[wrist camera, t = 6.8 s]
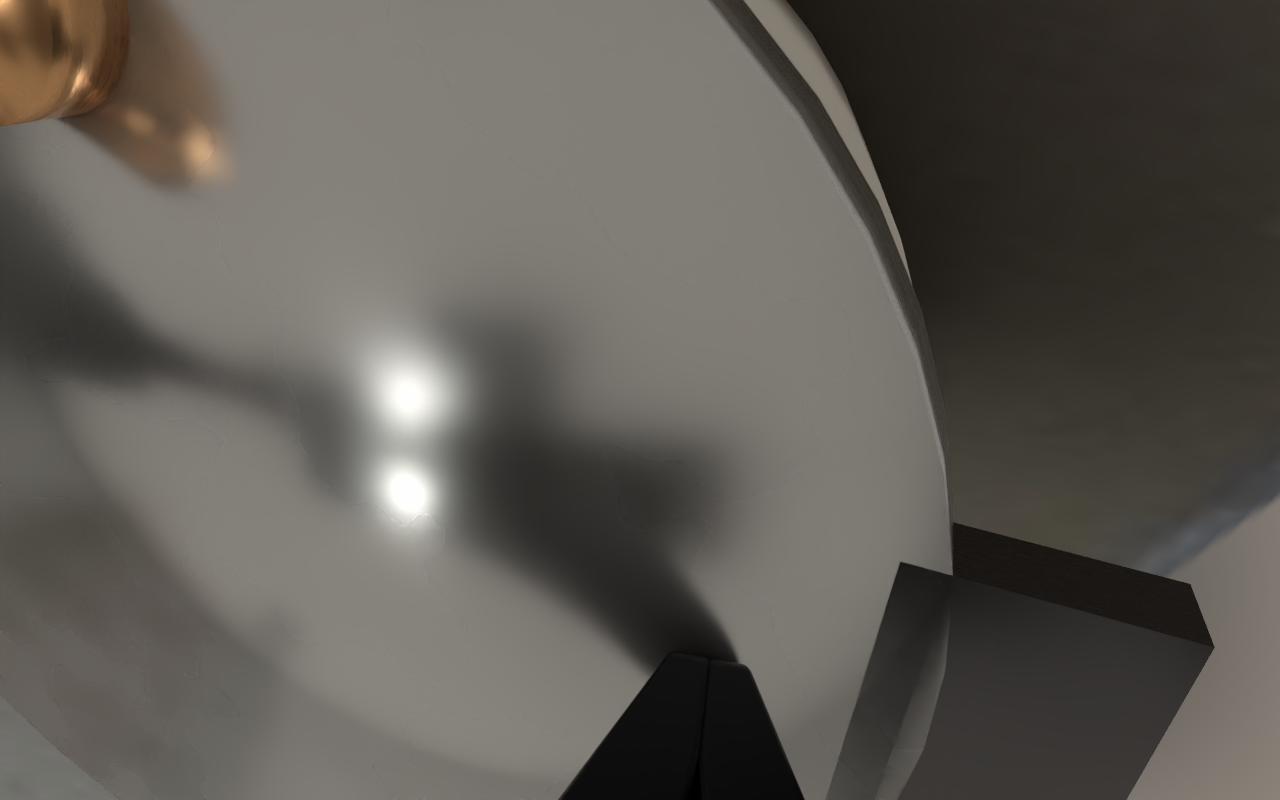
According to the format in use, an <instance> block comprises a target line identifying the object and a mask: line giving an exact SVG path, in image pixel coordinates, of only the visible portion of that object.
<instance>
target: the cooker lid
mask: <svg viewBox="0 0 1280 800" xmlns="http://www.w3.org/2000/svg"><path fill="white" fill-rule="evenodd" d="M1213 649H1214V645H1213V642H1212V639H1211V637H1210V634H1209V632H1208V629H1207V627H1206V624H1205V621H1204V619H1203V616H1202V613H1201V611H1200V608H1199V606H1198V603H1197V601H1196V598H1195V596H1194V593H1193V590H1192V588H1191V585H1190V584H1188V583H1184V582H1180V581H1176V580H1172V579H1169V578H1165V577H1161V576H1157V575H1153V574H1149V573H1146V572H1142V571H1138V570H1134V569H1130V568H1126V567H1122V566H1119V565H1115V564H1111V563H1107V562H1103V561H1099V560H1096V559H1092V558H1088V557H1084V556H1080V555H1076V554H1072V553H1069V552H1065V551H1061V550H1057V549H1053V548H1049V547H1045V546H1042V545H1038V544H1034V543H1030V542H1026V541H1022V540H1019V539H1015V538H1011V537H1007V536H1003V535H999V534H995V533H992V532H988V531H984V530H980V529H976V528H972V527H968V526H965V525H961V524H957V523H953V492H952V480H951V468H950V456H949V444H948V432H947V420H946V408H945V404H944V400H943V396H942V392H941V388H940V384H939V379H938V375H937V371H936V367H935V363H934V359H933V354H932V350H931V346H930V342H929V338H928V334H927V330H926V325H925V321H924V317H923V313H922V309H921V306H920V304H919V301H918V299H917V296H916V294H915V291H914V289H913V286H912V284H911V281H910V279H909V276H908V274H907V271H906V269H905V266H904V264H903V261H902V259H901V256H900V254H899V251H898V249H897V246H896V244H895V241H894V239H893V236H892V234H891V231H890V229H889V226H888V224H887V221H886V219H885V216H884V214H883V211H882V209H881V206H880V204H879V202H878V200H877V198H876V197H875V195H874V193H873V191H872V190H871V188H870V186H869V184H868V183H867V181H866V179H865V177H864V176H863V174H862V172H861V170H860V169H859V167H858V165H857V163H856V162H855V160H854V158H853V156H852V155H851V153H850V151H849V149H848V148H847V146H846V144H845V142H844V141H843V139H842V137H841V135H840V134H839V132H838V130H837V128H836V127H835V125H834V123H833V121H832V120H831V118H830V116H829V115H828V113H827V111H826V109H825V108H824V106H823V104H822V102H821V101H820V99H819V97H818V96H817V95H816V94H815V92H814V91H813V90H812V88H811V87H810V86H809V84H808V83H807V82H806V81H805V79H804V78H803V77H802V75H801V74H800V73H799V71H798V70H797V69H796V68H795V66H794V65H793V64H792V62H791V61H790V60H789V58H788V57H787V56H786V55H785V53H784V52H783V51H782V49H781V48H780V47H779V45H778V44H777V43H776V42H775V40H774V39H773V38H772V36H771V35H770V34H769V32H768V31H767V30H766V29H765V27H764V26H763V25H762V23H761V22H760V21H759V19H758V18H757V17H756V16H755V14H754V13H753V12H752V10H751V9H750V8H749V6H748V5H747V4H746V3H745V1H744V0H0V694H1V695H2V696H3V698H4V699H5V700H6V701H7V702H8V703H9V704H10V705H11V706H12V707H13V708H14V709H15V710H16V711H17V712H18V713H20V714H21V715H22V716H23V717H24V718H25V719H26V720H27V721H28V722H29V723H30V724H31V725H32V726H33V727H35V728H36V729H37V730H38V731H39V732H40V733H41V734H42V735H43V736H44V737H45V738H46V739H47V740H48V741H50V742H51V743H52V744H53V745H54V746H55V747H56V748H57V749H58V750H59V751H61V752H62V753H63V754H64V755H65V756H67V757H68V758H69V759H70V760H71V761H73V762H74V763H75V764H76V765H77V766H79V767H80V768H81V769H82V770H83V771H85V772H86V773H87V774H88V775H89V776H91V777H92V778H93V779H94V780H95V781H97V782H98V783H99V784H100V785H101V786H103V787H104V788H105V789H106V790H108V791H109V792H110V793H112V794H113V795H114V796H116V797H117V798H118V799H120V800H558V799H559V797H560V796H561V795H562V793H563V792H564V791H565V789H566V788H567V787H568V785H569V784H570V783H571V781H572V780H573V779H574V777H575V776H576V775H577V773H578V772H579V771H580V769H581V768H582V767H583V765H584V764H585V763H586V761H587V760H588V759H589V758H590V756H591V755H592V754H593V752H594V751H595V750H596V748H597V747H598V746H599V744H600V743H601V742H602V740H603V739H604V738H605V736H606V735H607V734H608V732H609V731H610V730H611V728H612V727H613V726H614V724H615V723H616V722H617V720H618V719H619V718H620V716H621V715H622V714H623V712H624V711H625V710H626V709H627V707H628V706H629V705H630V703H631V702H632V701H633V699H634V698H635V697H636V695H637V694H638V693H639V691H640V690H641V689H642V687H643V686H644V685H645V683H646V682H647V681H648V679H649V678H650V677H651V675H652V674H653V673H654V671H655V670H656V669H657V667H658V666H659V665H660V663H661V662H662V661H663V659H664V658H665V657H666V656H667V655H668V654H669V653H670V652H673V651H678V652H683V653H688V654H693V655H699V656H704V657H707V658H708V659H709V660H710V659H720V660H725V661H730V662H735V663H740V664H744V665H746V666H747V667H748V668H749V669H750V671H751V672H752V675H753V677H754V679H755V682H756V684H757V686H758V689H759V691H760V694H761V696H762V698H763V701H764V703H765V706H766V708H767V710H768V713H769V715H770V718H771V720H772V722H773V725H774V727H775V729H776V732H777V734H778V737H779V739H780V741H781V744H782V746H783V749H784V751H785V753H786V756H787V758H788V761H789V763H790V765H791V768H792V770H793V772H794V775H795V777H796V780H797V782H798V784H799V787H800V789H801V792H802V794H803V796H804V799H805V800H1127V798H1128V796H1129V794H1130V793H1131V791H1132V789H1133V787H1134V786H1135V784H1136V782H1137V780H1138V779H1139V777H1140V775H1141V774H1142V772H1143V770H1144V768H1145V767H1146V765H1147V763H1148V762H1149V760H1150V758H1151V756H1152V755H1153V753H1154V751H1155V749H1156V748H1157V746H1158V744H1159V743H1160V741H1161V739H1162V737H1163V736H1164V734H1165V732H1166V730H1167V729H1168V727H1169V725H1170V724H1171V722H1172V720H1173V718H1174V717H1175V715H1176V713H1177V711H1178V710H1179V708H1180V706H1181V705H1182V703H1183V701H1184V699H1185V698H1186V696H1187V694H1188V693H1189V691H1190V689H1191V687H1192V686H1193V684H1194V682H1195V680H1196V679H1197V677H1198V675H1199V673H1200V672H1201V670H1202V668H1203V667H1204V665H1205V663H1206V661H1207V660H1208V658H1209V656H1210V655H1211V653H1212V651H1213Z"/></svg>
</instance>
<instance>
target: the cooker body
mask: <svg viewBox="0 0 1280 800" xmlns="http://www.w3.org/2000/svg"><path fill="white" fill-rule="evenodd" d="M744 1H745V3H746V4H747V5H748V6H749V8H750V9H751V10H752V12H753V13H754V14H755V16H756V17H757V18H758V19H759V21H760V22H761V23H762V25H763V26H764V27H765V29H766V30H767V31H768V32H769V34H770V35H771V36H772V38H773V39H774V40H775V42H776V43H777V44H778V45H779V47H780V48H781V49H782V51H783V52H784V53H785V55H786V56H787V57H788V58H789V60H790V61H791V62H792V64H793V65H794V66H795V68H796V69H797V70H798V71H799V73H800V74H801V75H802V77H803V78H804V79H805V81H806V82H807V83H808V84H809V86H810V87H811V88H812V90H813V91H814V92H815V94H816V95H817V96H818V97H819V99H820V101H821V102H822V104H823V106H824V108H825V109H826V111H827V113H828V115H829V116H830V118H831V120H832V121H833V123H834V125H835V127H836V128H837V130H838V132H839V134H840V135H841V137H842V139H843V141H844V142H845V144H846V146H847V148H848V149H849V151H850V153H851V155H852V156H853V158H854V160H855V162H856V163H857V165H858V167H859V169H860V170H861V172H862V174H863V176H864V177H865V179H866V181H867V183H868V184H869V186H870V188H871V190H872V191H873V193H874V195H875V197H876V198H877V200H878V202H879V204H880V206H881V209H882V211H883V214H884V216H885V219H886V221H887V224H888V226H889V229H890V231H891V234H892V236H893V239H894V241H895V244H896V246H897V249H898V251H899V254H900V256H901V259H902V261H903V264H904V266H905V269H906V271H907V274H908V276H909V279H910V281H911V278H910V274H909V270H908V266H907V261H906V257H905V253H904V249H903V245H902V241H901V238H900V235H899V233H898V230H897V227H896V225H895V222H894V219H893V217H892V214H891V211H890V208H889V206H888V203H887V200H886V198H885V195H884V192H883V190H882V187H881V184H880V181H879V179H878V176H877V173H876V171H875V168H874V165H873V163H872V160H871V157H870V155H869V152H868V149H867V146H866V144H865V141H864V138H863V136H862V133H861V131H860V128H859V126H858V124H857V121H856V119H855V116H854V114H853V111H852V109H851V106H850V104H849V101H848V99H847V96H846V94H845V91H844V89H843V87H842V84H841V83H840V81H839V79H838V78H837V76H836V74H835V72H834V71H833V69H832V67H831V65H830V64H829V62H828V60H827V58H826V57H825V55H824V53H823V52H822V50H821V48H820V46H819V45H818V43H817V41H816V39H815V38H814V36H813V34H812V33H811V32H810V30H809V29H808V28H807V26H806V25H805V24H804V23H803V21H802V20H801V19H800V17H799V16H798V15H797V14H796V12H795V11H794V10H793V8H792V7H791V6H790V5H789V3H788V2H787V1H786V0H744ZM911 284H912V282H911Z"/></svg>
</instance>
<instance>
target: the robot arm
mask: <svg viewBox="0 0 1280 800" xmlns="http://www.w3.org/2000/svg"><path fill="white" fill-rule="evenodd" d="M558 800H805V799H804V796H803V794H802V792H801V789H800V787H799V784H798V782H797V780H796V777H795V775H794V772H793V770H792V768H791V765H790V763H789V761H788V758H787V756H786V753H785V751H784V749H783V746H782V744H781V741H780V739H779V737H778V734H777V732H776V729H775V727H774V725H773V722H772V720H771V718H770V715H769V713H768V710H767V708H766V706H765V703H764V701H763V698H762V696H761V694H760V691H759V689H758V686H757V684H756V682H755V679H754V677H753V675H752V672H751V671H750V669H749V668H748V667H747V666H746V665H744V664H740V663H735V662H730V661H725V660H720V659H710V660H709V659H708V658H707V657H704V656H699V655H693V654H688V653H683V652H678V651H673V652H670V653H669V654H668V655H667V656H666V657H665V658H664V659H663V661H662V662H661V663H660V665H659V666H658V667H657V669H656V670H655V671H654V673H653V674H652V675H651V677H650V678H649V679H648V681H647V682H646V683H645V685H644V686H643V687H642V689H641V690H640V691H639V693H638V694H637V695H636V697H635V698H634V699H633V701H632V702H631V703H630V705H629V706H628V707H627V709H626V710H625V711H624V712H623V714H622V715H621V716H620V718H619V719H618V720H617V722H616V723H615V724H614V726H613V727H612V728H611V730H610V731H609V732H608V734H607V735H606V736H605V738H604V739H603V740H602V742H601V743H600V744H599V746H598V747H597V748H596V750H595V751H594V752H593V754H592V755H591V756H590V758H589V759H588V760H587V761H586V763H585V764H584V765H583V767H582V768H581V769H580V771H579V772H578V773H577V775H576V776H575V777H574V779H573V780H572V781H571V783H570V784H569V785H568V787H567V788H566V789H565V791H564V792H563V793H562V795H561V796H560V797H559V799H558Z"/></svg>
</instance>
